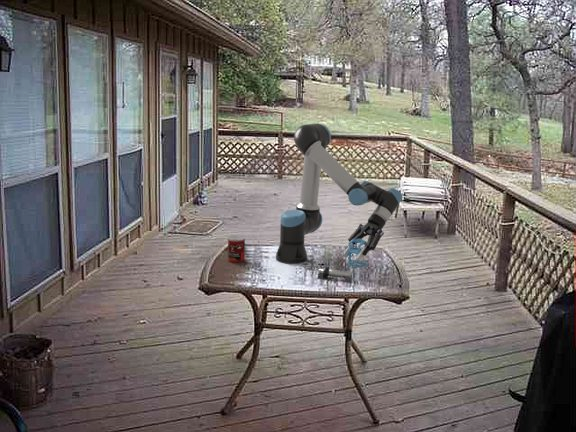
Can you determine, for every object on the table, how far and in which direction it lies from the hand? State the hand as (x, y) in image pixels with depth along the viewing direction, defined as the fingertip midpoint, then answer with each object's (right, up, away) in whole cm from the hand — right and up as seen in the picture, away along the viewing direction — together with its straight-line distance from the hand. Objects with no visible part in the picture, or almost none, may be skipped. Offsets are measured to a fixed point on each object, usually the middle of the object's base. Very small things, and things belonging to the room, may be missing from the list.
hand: (351, 257), depth 274 cm
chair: (+3, -4, +3) cm, 6 cm away
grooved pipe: (-7, -9, -1) cm, 12 cm away
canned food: (-53, -3, +21) cm, 57 cm away
